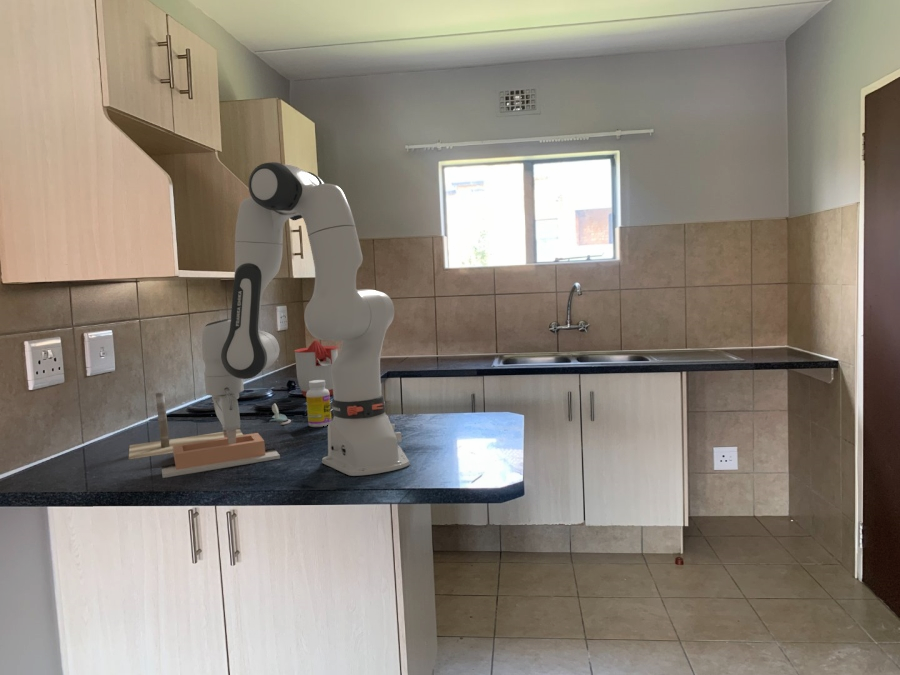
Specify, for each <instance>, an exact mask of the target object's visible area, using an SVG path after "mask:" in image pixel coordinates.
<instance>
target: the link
mask: <svg viewBox="0 0 900 675" xmlns="http://www.w3.org/2000/svg"><path fill="white" fill-rule="evenodd" d="M227 438H228V437H226V438H219V439H213V440H206V441H199V442H192V443H186V444H179V445H173V453H172V454H173V459H174V464H175V466H176V470H177V469H183V468H189V467H195V466H202V465H208V464H214V463H220V462H226V461H232V460H238V459H245V458H251V457H257V456H263V455H265V450H266V446H265V445H266V444H265V440H264V438H263V436H261V435H260V434H259V432H254V433H247V434H243V435H239V436H236V443H234V444H228V439H227Z"/></svg>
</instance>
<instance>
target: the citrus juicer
mask: <svg viewBox="0 0 900 675" xmlns="http://www.w3.org/2000/svg"><path fill="white" fill-rule="evenodd" d="M338 348H339V347H338V346H335V345H323V344H322V343H320V342H319V341H318V340H316V339H315V340H313V342H311V344H310V345H309V346H308V347H303V348H298V349H295V350H293V352H294V355H295V358H294V359H295V369H296V377H297V382H298V387H299V389H300V391H301V393H302V395H303V397H305V398H306V393H307V391H309V390H310V387H309V381H313V380H325V389H327V390H329V393H330V396H333V383H332V365H333V362H334V361H335V359H336V358H337V357H338V355H339V353H338Z"/></svg>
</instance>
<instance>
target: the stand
mask: <svg viewBox="0 0 900 675" xmlns="http://www.w3.org/2000/svg"><path fill="white" fill-rule="evenodd" d="M165 396H166V395H165V392H162V391H160V392H156V393H155V400H156V401H155V403H156V410H157V420H158V430H159V439H160V440H157V441H150V442H144V443H143V442H142V443H136V444H130V445H129V449H128V460H134V459H140V458H141V459H142V458H146V457H147V458H148V457H154V456H159V455H161V456H162V455H167V454H174V453H173V445H179V444H186V443H192V442H199V441H206V440H213V439H219V438H225V437H224V435H223V431H219V432H214V433H213V432H211V433H205V434H198V435H191V436H185V437H178V438H170V439H169V429H168V428H169V426H168V418H167V408H166V400H165V398H166V397H165ZM239 435H244V434H243V432H242V430H241V429H240V428H238V429H236V436H239Z"/></svg>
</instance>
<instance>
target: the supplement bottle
mask: <svg viewBox="0 0 900 675" xmlns="http://www.w3.org/2000/svg"><path fill="white" fill-rule="evenodd" d="M309 387H310V390H309V391H307V393H306V397H305V398H306V410H307V421H308V426H309V427H310V428H323V426H324V427H328V426H327V425H329V424H330V423H331V422H332V405H331V395H330V393H329V390H327V389H325V380H313V381H309Z"/></svg>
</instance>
